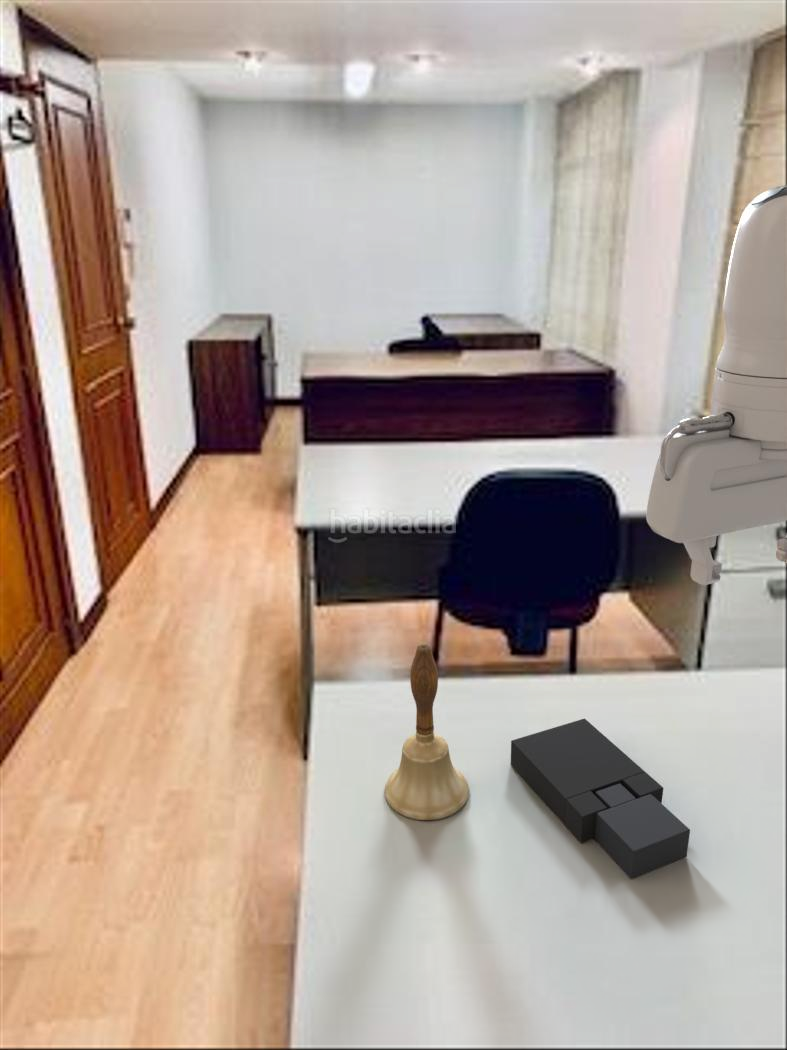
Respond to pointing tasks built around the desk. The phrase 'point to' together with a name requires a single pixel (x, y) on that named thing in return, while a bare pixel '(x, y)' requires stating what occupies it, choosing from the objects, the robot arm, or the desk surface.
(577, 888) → the desk surface
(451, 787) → the hand bell
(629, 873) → the graphite pad
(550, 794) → the black pad
